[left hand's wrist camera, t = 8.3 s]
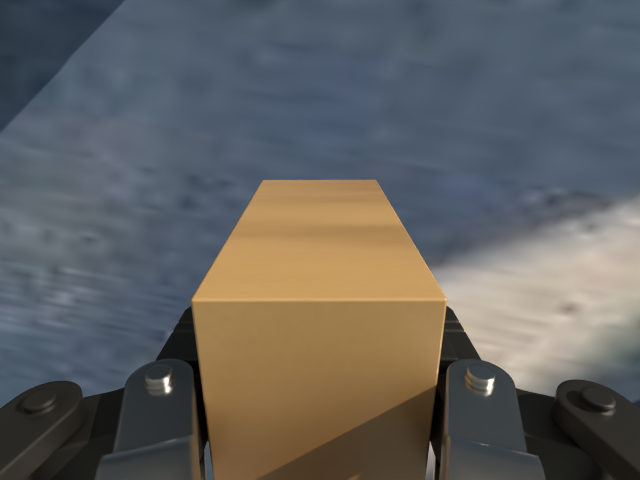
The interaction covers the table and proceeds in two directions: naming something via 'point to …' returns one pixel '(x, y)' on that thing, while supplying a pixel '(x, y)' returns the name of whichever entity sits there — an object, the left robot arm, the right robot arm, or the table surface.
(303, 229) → the bar
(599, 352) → the table surface
